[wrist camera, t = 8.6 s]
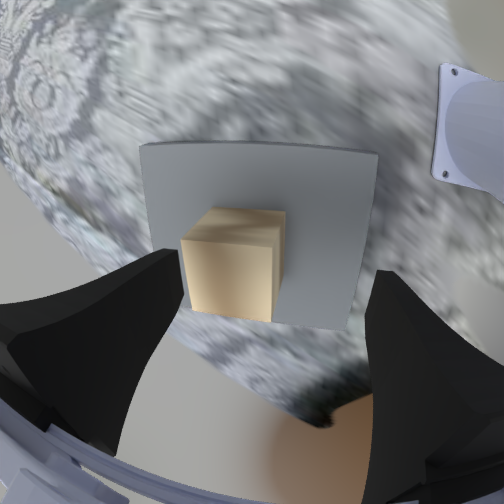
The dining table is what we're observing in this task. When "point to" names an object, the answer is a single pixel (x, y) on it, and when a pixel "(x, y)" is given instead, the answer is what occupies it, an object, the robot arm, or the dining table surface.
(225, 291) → the maple block
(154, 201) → the slate board
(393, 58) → the dining table surface
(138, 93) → the dining table surface
